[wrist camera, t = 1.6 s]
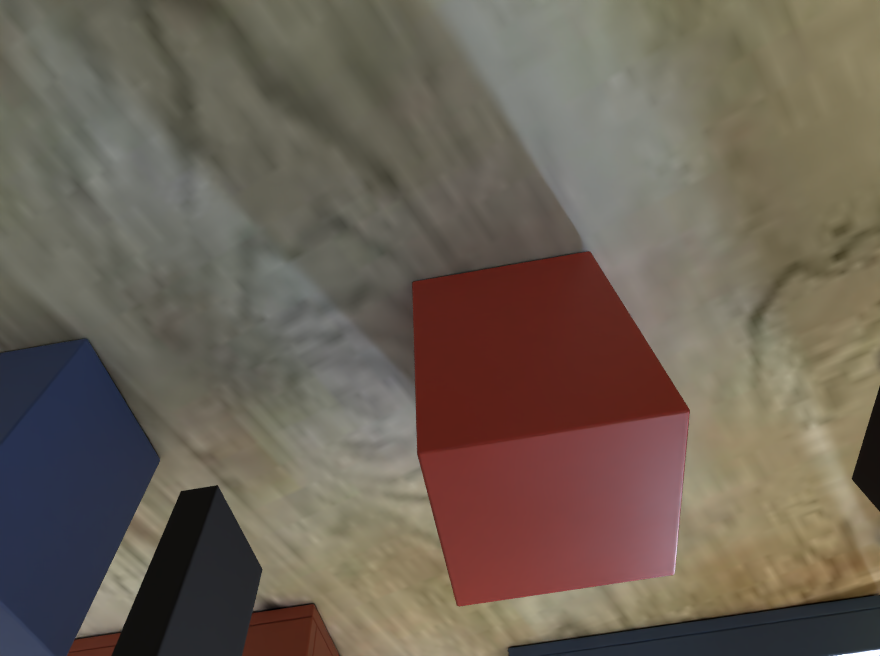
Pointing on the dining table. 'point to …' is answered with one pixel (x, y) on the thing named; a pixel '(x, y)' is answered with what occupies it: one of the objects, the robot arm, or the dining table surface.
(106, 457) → the blue block
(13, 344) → the dining table surface
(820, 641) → the blue tray
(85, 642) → the red tray
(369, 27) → the dining table surface
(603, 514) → the red block
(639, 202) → the dining table surface
